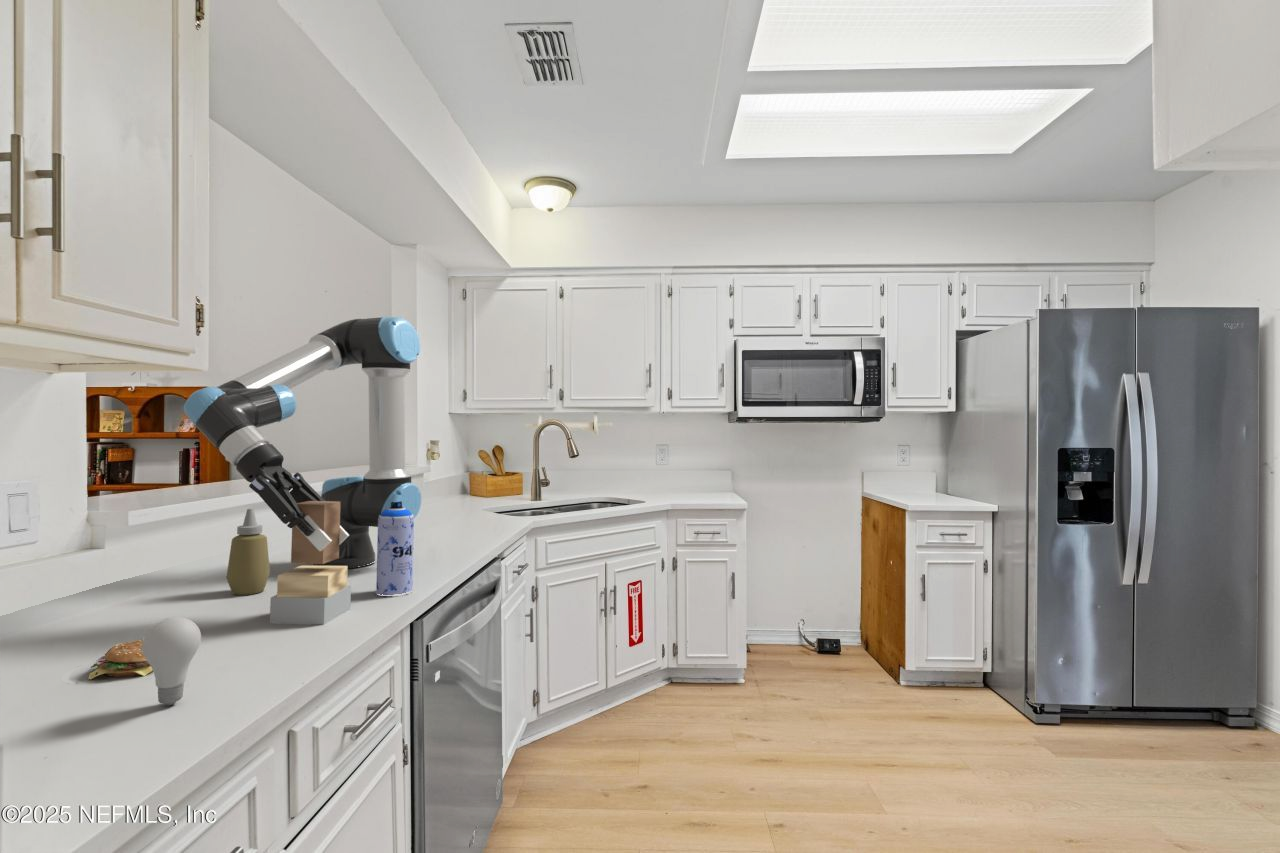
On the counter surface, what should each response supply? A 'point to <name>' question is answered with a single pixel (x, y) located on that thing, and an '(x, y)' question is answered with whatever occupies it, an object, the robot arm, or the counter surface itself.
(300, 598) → the grey slab
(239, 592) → the squeeze bottle
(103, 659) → the hamburger
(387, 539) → the aerosol can
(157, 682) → the lightbulb
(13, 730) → the counter surface
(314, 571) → the beech slab
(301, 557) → the walnut block
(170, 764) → the counter surface
